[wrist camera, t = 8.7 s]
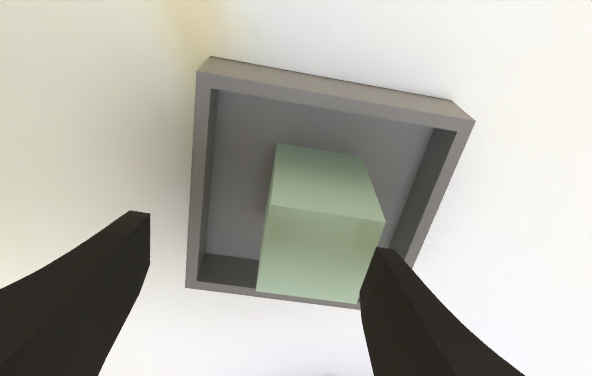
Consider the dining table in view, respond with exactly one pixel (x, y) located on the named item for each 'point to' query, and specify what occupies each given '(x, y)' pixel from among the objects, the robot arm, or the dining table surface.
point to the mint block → (318, 225)
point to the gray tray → (314, 134)
